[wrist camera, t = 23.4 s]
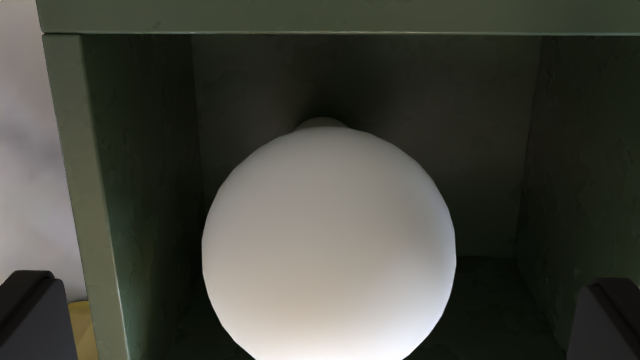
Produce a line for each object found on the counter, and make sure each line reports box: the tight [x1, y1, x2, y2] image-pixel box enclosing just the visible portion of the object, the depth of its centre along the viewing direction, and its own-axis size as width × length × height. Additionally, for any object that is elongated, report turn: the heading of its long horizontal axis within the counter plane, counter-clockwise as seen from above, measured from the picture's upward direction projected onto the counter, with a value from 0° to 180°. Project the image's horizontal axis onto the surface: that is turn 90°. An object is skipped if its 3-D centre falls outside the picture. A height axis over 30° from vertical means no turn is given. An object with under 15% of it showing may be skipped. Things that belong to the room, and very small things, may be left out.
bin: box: [36, 0, 640, 360], centre depth 18 cm, size 14×12×10 cm
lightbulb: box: [202, 117, 456, 360], centre depth 17 cm, size 6×6×11 cm
